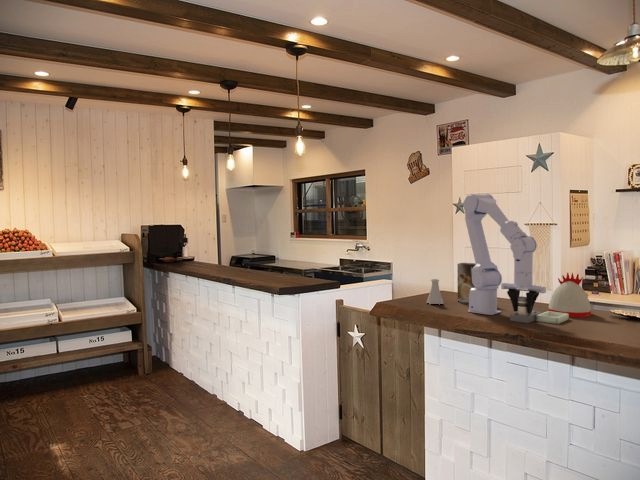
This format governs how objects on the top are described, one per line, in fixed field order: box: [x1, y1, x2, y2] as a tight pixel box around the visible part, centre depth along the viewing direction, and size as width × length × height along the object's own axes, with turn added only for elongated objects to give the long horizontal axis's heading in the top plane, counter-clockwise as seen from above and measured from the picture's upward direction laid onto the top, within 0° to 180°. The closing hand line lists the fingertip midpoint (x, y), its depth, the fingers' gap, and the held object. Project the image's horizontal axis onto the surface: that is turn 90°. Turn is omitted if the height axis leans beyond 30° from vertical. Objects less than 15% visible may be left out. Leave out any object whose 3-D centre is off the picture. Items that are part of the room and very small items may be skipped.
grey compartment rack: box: [509, 306, 542, 324], centre depth 171 cm, size 6×11×4 cm, turn 134°
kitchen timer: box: [547, 272, 592, 318], centre depth 181 cm, size 14×14×15 cm
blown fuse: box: [517, 296, 528, 316], centre depth 169 cm, size 3×3×8 cm
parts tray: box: [535, 310, 570, 325], centre depth 169 cm, size 7×10×2 cm
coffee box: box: [456, 262, 476, 304], centre depth 206 cm, size 9×6×16 cm
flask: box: [425, 278, 445, 306], centre depth 203 cm, size 7×7×10 cm
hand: (522, 312), depth 169 cm, fingers open, 4 cm apart
